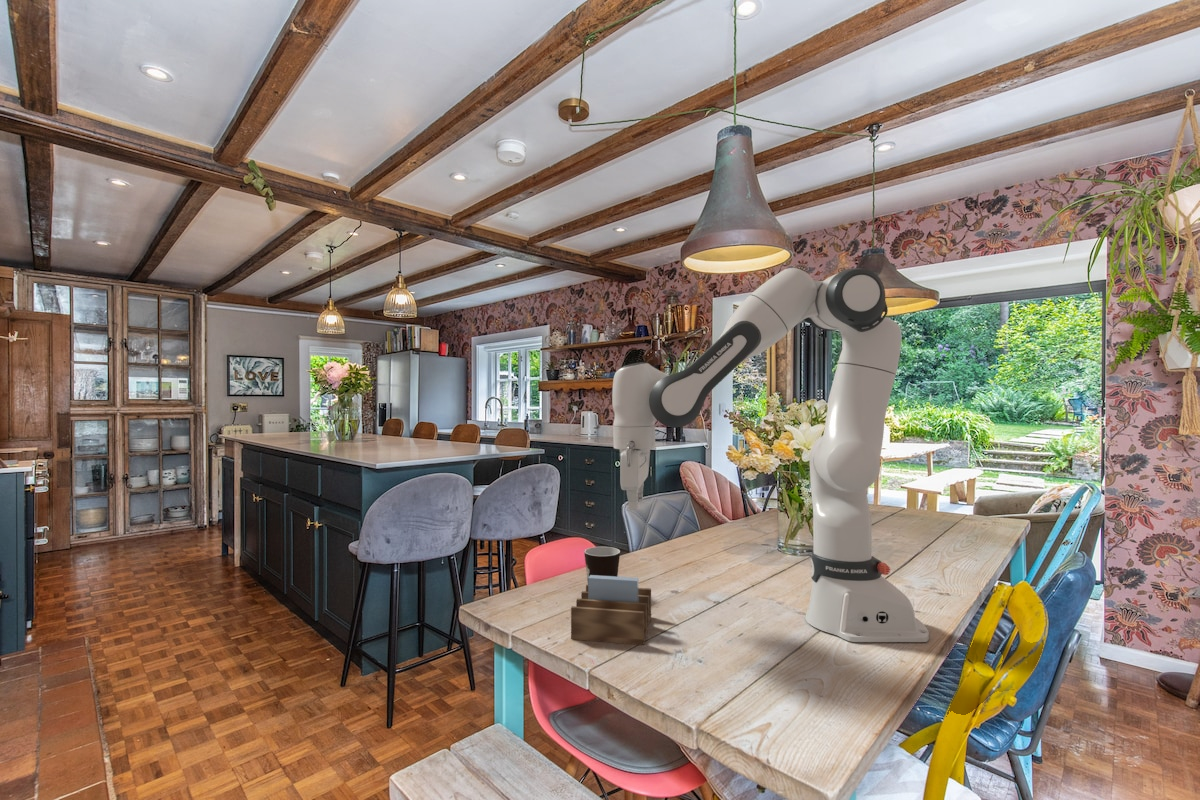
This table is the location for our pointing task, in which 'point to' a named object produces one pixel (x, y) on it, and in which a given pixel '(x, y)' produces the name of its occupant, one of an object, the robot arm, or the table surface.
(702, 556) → the table surface
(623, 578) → the upright grey-blue slab
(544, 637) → the table surface
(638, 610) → the walnut rack
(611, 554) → the coffee mug
